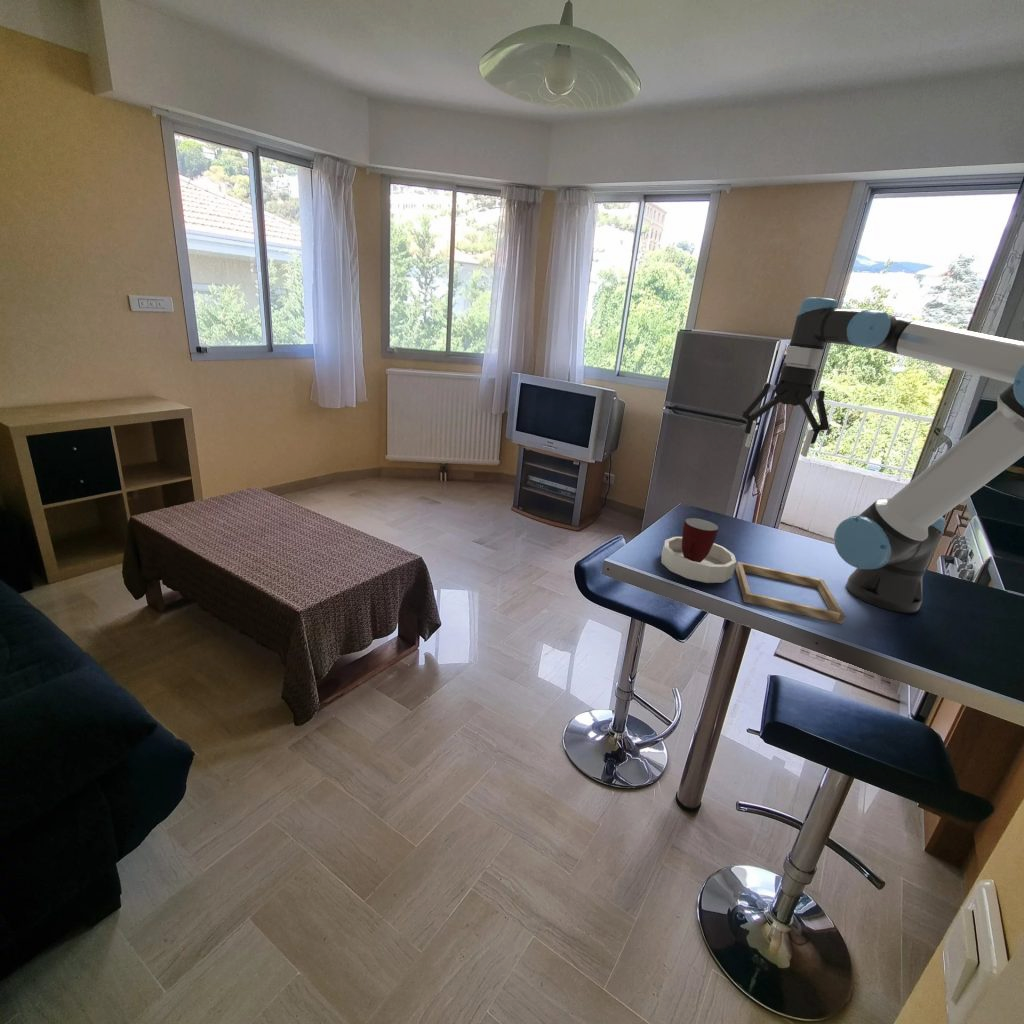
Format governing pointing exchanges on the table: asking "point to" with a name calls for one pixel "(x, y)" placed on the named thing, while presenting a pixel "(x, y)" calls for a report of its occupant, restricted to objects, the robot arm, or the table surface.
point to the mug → (698, 538)
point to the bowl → (709, 570)
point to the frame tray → (830, 615)
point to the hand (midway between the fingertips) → (774, 451)
